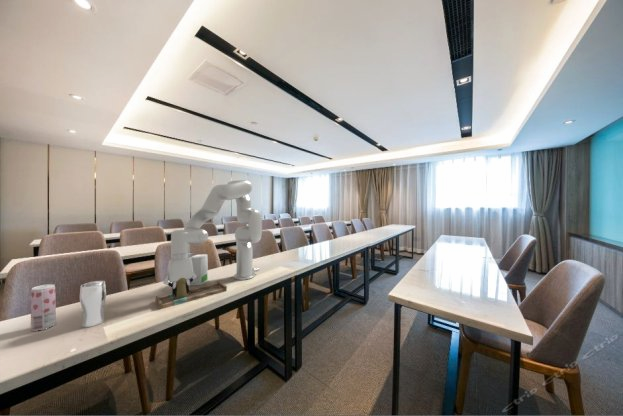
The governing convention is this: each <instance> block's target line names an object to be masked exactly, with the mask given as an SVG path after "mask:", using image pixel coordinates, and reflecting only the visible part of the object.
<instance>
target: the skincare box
mask: <svg viewBox="0 0 623 416" xmlns="http://www.w3.org/2000/svg"><path fill="white" fill-rule="evenodd" d="M190 257H191V259H192V264H193V272H194V273H195V274H196V275H197V277H196V278H195V279H194V280H193V281H192V282H191V283H190V285H189V286H202V285H203V284H204V283H206V282H208V280H209V278H208V275H209V273H208V270H209V269H208V264H209V263H208V254H206V253H205V254H195V255H191V256H190Z"/></svg>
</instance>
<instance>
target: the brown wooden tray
mask: <svg viewBox="0 0 623 416" xmlns="http://www.w3.org/2000/svg"><path fill="white" fill-rule="evenodd" d="M216 287H217V288H218V289H214V288H216ZM209 289H210V290H211V289H214V290H211V291H207V292H204V293H199V294H195V295H191V296H188V297H187V298H186V297H185V298H181V299H177V300H174V301H169V302H165V303H163V301H165V300H169V299H171V300H172V299H174V295H173V294H172V292H171V293H169V294H167V295H163V296H159V295H155V300H154V301H155V303H156V305H157V308H158V309H159V310H163V309H166V308H170V307H172V306H177V305H178V306H179V305H181V304H184V303H187V302H191V301H195V300H199V299H203V298H206V297H209V296H213V295H217V294H221V293H224V292H227V285H225V284H224V283H222V282H221V281H220V280H219V281H217V282H216V283H212V284H207V285H204V286H201V287H195V288H192V289H189V291H188V295H190V294H192V293H193V294H194V293H197V292H201V291H206V290H209Z"/></svg>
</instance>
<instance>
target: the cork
mask: <svg viewBox="0 0 623 416" xmlns="http://www.w3.org/2000/svg"><path fill="white" fill-rule="evenodd" d="M186 281H187V279H185V278H180V279H179V280H178V281H176V288H177V294H176V297H175V294H174V298H172V299H173V301H174V300H177V299H181V298H185V297H186V298H187V297H189V294H187V291H186Z"/></svg>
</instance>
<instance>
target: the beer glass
mask: <svg viewBox="0 0 623 416" xmlns="http://www.w3.org/2000/svg"><path fill="white" fill-rule="evenodd" d="M106 288H107V285H106V281H105V280H95V281H89V282H86V283H84V284H81V285H80V292H79V303H80V307H81V310H82V311H81V312H82V314H83V315H82V317H83V318H82V324H81V327H82V328H91V327H95V326H98V325H101V324H102V323H104V322H105V320H106V319H105V316H104V307H105V302H106V298H107V289H106Z"/></svg>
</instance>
